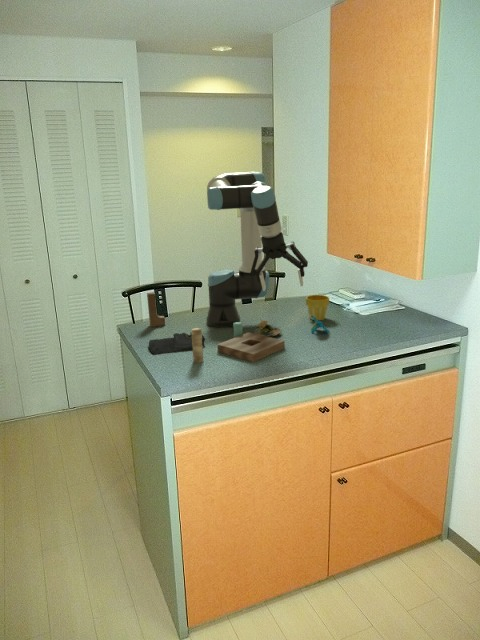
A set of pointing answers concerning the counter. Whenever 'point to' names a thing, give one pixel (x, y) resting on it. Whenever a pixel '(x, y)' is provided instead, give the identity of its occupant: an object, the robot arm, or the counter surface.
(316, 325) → the gear
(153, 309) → the wooden block
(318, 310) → the plant pot
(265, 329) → the burger
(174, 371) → the counter surface
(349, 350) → the counter surface
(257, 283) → the robot arm
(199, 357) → the long maple pin
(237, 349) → the walnut hole board
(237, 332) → the short teal pin
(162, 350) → the dark slate chunk
